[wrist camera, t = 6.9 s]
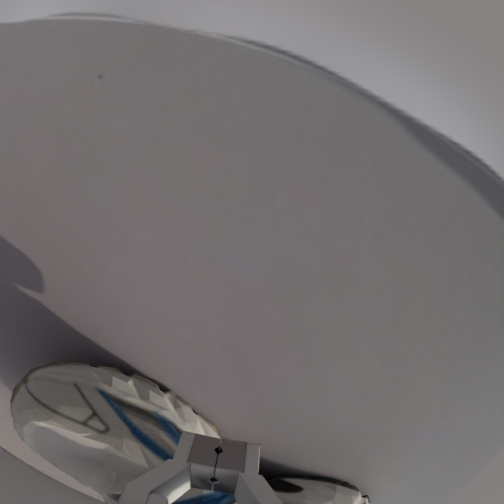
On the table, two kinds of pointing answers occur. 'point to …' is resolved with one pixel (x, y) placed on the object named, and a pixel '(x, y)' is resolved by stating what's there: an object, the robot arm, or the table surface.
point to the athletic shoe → (128, 433)
